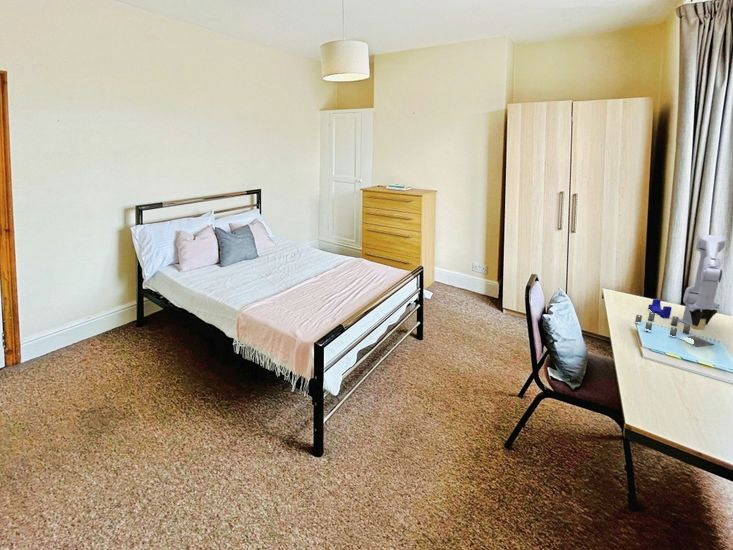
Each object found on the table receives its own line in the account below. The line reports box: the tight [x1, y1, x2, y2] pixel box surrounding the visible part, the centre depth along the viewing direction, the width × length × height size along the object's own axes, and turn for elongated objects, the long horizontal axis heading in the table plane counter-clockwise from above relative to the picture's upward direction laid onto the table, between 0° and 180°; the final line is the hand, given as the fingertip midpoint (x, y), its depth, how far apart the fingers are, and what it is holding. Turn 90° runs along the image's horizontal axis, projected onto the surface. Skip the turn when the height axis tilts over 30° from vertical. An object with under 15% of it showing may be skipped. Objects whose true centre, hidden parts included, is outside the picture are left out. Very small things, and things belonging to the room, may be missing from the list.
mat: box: [686, 335, 714, 347], centre depth 188 cm, size 9×9×1 cm
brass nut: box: [690, 316, 707, 331], centre depth 186 cm, size 4×5×5 cm
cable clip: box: [647, 298, 673, 319], centre depth 218 cm, size 12×4×6 cm, turn 172°
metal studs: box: [634, 311, 691, 337], centre depth 201 cm, size 21×20×4 cm
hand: (699, 324), depth 185 cm, fingers closed on brass nut, 4 cm apart
